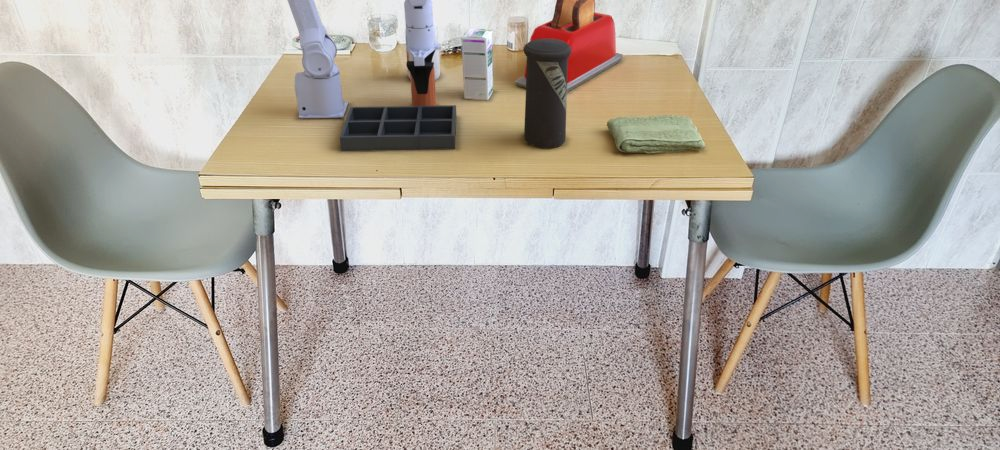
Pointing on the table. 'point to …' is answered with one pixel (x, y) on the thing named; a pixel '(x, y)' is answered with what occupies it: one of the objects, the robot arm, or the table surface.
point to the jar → (427, 98)
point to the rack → (399, 128)
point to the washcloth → (655, 134)
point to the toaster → (580, 40)
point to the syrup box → (477, 64)
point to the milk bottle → (435, 56)
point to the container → (546, 92)
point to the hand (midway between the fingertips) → (423, 86)
